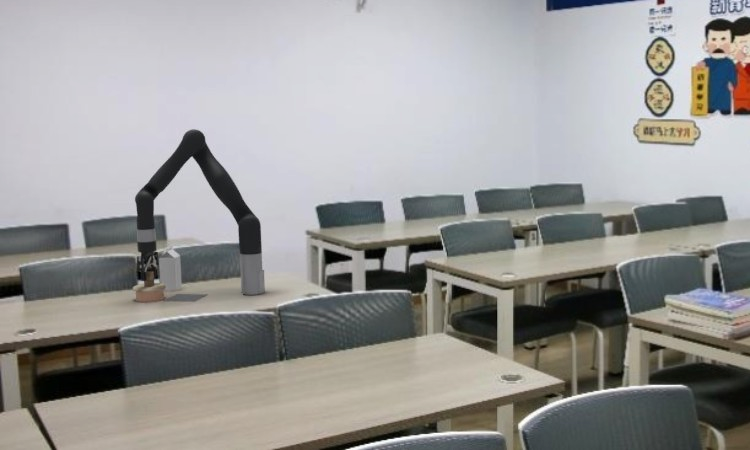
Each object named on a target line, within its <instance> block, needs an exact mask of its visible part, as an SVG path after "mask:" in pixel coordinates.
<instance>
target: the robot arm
mask: <svg viewBox="0 0 750 450" xmlns="http://www.w3.org/2000/svg"><path fill="white" fill-rule="evenodd" d="M209 147H210V146H209V145H208V144H207V140H206V136H205V133H203V132H202V131H201V130H199V129H189V130H188V131H186V132H184V134H183V136H182V139H181V141H180V143H179V144H178V146H177V148H176V149H175V150H174V152H173V153H172V154H171V155H170V156H169V158H167V159H166V160H165V162H164V163H163V164H162V165H161V166H159V168H158V169H157V171H156V172H155V173H154V174H153V175H152V177H151V178H150V179H149V180H148V182H147V183H146V184H145V185H144V186H142V188H140V190H139V191H138V192H137V193H136V195H135V197H134V202H135V206H136V207H135V208H136V244H137V245H136V246H137V252H138V253H140V255H137V256H136V269H137V272H140V281H141V282H144V281H146V280H147V274H146V271H148V268H149V267H150V270H149V271H154V278H156V277H157V267H158V266H159V252H158V251H157V236H156V235H157V234H156V227H155V225H156V224H155V215H154V213H155V206H154V205H155V200H156V199H157V197H158V196H159V195H160V194H161V193H162V192H164V190H166V189H167V187H168V186H169V185H170V184H171V183H172V181H173V180H174V179H175V177H176V176H177V175H178V173H179V172H180V171H181V170H182V168H183V166H184V165H185V164H186V163H188V161H189V160H190V159H191V158H193V159H194V161H195V162H196V164H197V165H198V166H199V168H200V170H201V172H202V174H203V176H204V178H205V179H206V182H207V183H208V185H209V187H210V188H211V190H212V191H213V193H214V194H215V196H216V197H217V198H218V199H219V201H220V203H222V204H223V205H224V206H225V208H227V209H228V211H229V212H230V213H231V215H232V216H233V218H234V220H235V222H236V224H237V226H238V227H237V228H238V230H237V233H238V248H239V265H240V266H239V267H240V289H241V291H240V292H241V294H243V295H246V296H251V295H252V296H253V295H262V294H263V293H265V292H266V288H265V287H266V286H265V285H266V284H265V282H266V281H265V269H263V254H262V253H263V251H262V249H263V247H262V245H263V244H262V227H261V225H262V224H261V221H260V219H259V218H258V217H257V215H255V213H254V212H253V211H252V210H251V208H250V207H249V206H248V204H247V203H246V202H245V200H244V198H243V196H242V194H241V192H240V190H239V188H238V187H237V185H236V183H235V181H234V180H233V178H232V177H231V175H230V174H229V172H228V171H227V170H226V168H225V167H224V166H223V165H222V164H221V163H220V161H218V159H216V157H215V155H213V153H212V151H211V149H210V148H209Z"/></svg>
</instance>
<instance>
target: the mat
mask: <svg viewBox="0 0 750 450" xmlns="http://www.w3.org/2000/svg"><path fill="white" fill-rule="evenodd" d="M208 295H209V294H207V293H206V294H203V293H201V294H200V293H197V294H196V293H177V294H174V295H171V296H170V297H167V298H166V299H163V302H181V303H182V302H183V303H184V302H191V303H194V302H195V303H196V302H197V301H199V300H201V299H203V298H205V297H207V296H208Z"/></svg>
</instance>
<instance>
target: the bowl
mask: <svg viewBox="0 0 750 450" xmlns="http://www.w3.org/2000/svg"><path fill="white" fill-rule="evenodd" d="M164 295H165V291H164V289H162V290H158V291H151V292H137V291H135V300H136V302H139V303H152V302H159V301H163V300H165V296H164Z"/></svg>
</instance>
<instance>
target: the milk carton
mask: <svg viewBox="0 0 750 450" xmlns="http://www.w3.org/2000/svg"><path fill="white" fill-rule="evenodd" d="M161 254H162V255H160V256H159V257H158V260H159V265H158V266H159V281H160V282H159V283H161V284H165V285H166V288H165V289H164V292H178V291H180V290H181V289H182V288H183V283H182V266H181V264H182V263H181V255H180V254H179V253H178V252H177V251H176V250H174V249H173V246H170V247H167V248H165V250H163V251H162V252H161Z"/></svg>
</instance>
